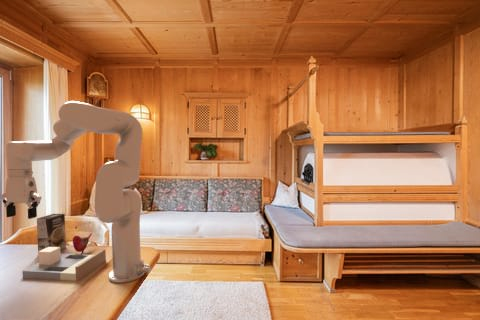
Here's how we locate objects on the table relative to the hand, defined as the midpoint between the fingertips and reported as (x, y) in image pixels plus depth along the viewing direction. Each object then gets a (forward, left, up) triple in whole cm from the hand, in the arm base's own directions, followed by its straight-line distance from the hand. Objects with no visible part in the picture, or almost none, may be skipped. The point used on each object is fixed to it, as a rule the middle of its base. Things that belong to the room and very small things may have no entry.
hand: (21, 217), depth 107 cm
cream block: (-11, 0, -18) cm, 21 cm away
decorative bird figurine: (-14, -15, -20) cm, 29 cm away
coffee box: (+2, -16, -20) cm, 26 cm away
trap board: (-18, 0, -20) cm, 27 cm away
